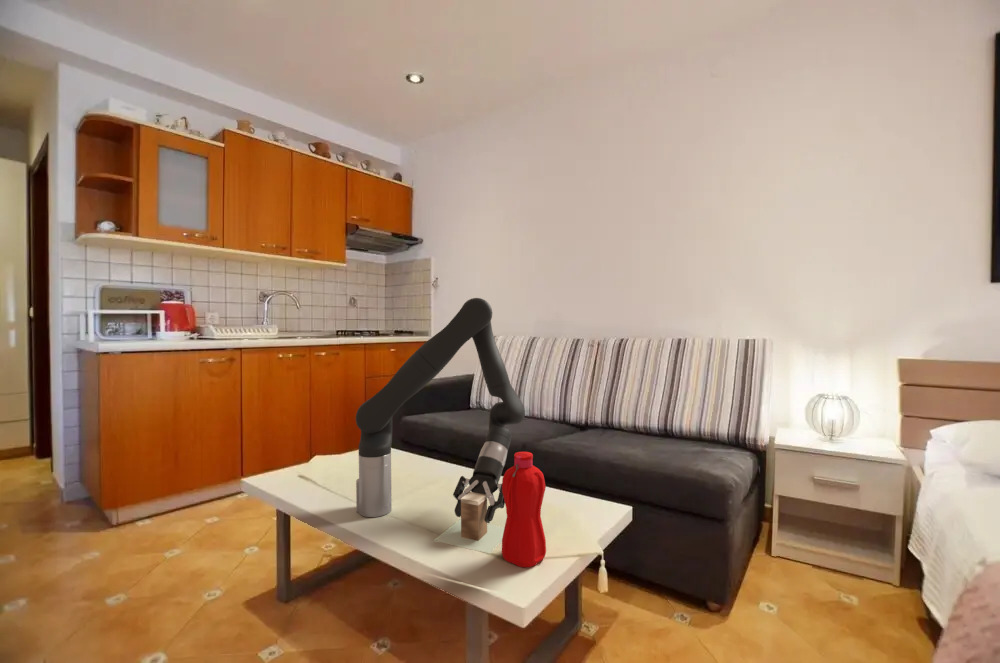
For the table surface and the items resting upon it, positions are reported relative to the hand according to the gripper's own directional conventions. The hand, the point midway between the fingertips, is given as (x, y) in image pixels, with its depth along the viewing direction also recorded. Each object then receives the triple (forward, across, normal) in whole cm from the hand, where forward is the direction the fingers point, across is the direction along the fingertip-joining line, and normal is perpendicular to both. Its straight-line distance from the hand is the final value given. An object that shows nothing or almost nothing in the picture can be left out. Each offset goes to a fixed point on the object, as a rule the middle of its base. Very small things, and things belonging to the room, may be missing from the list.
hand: (471, 518), depth 117 cm
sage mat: (+3, 0, +4) cm, 5 cm away
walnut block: (+2, 0, +4) cm, 5 cm away
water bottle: (+7, +16, 0) cm, 17 cm away
